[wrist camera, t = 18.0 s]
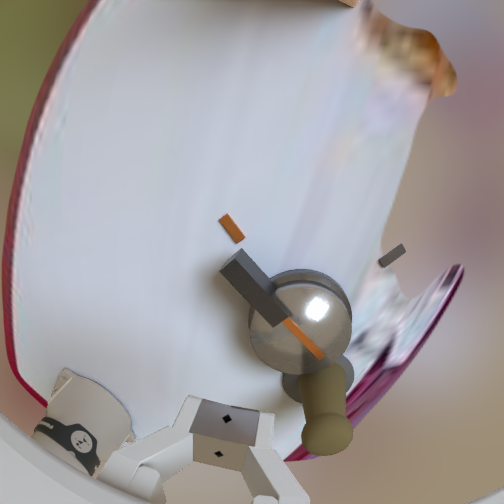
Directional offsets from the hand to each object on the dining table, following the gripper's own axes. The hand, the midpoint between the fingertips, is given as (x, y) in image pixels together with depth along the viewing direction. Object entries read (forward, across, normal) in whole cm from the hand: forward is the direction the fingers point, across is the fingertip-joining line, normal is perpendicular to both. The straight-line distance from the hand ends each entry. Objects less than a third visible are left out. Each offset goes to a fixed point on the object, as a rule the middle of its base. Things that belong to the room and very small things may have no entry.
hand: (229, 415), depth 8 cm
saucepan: (+19, -2, +5) cm, 20 cm away
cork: (+21, -9, +14) cm, 27 cm away
